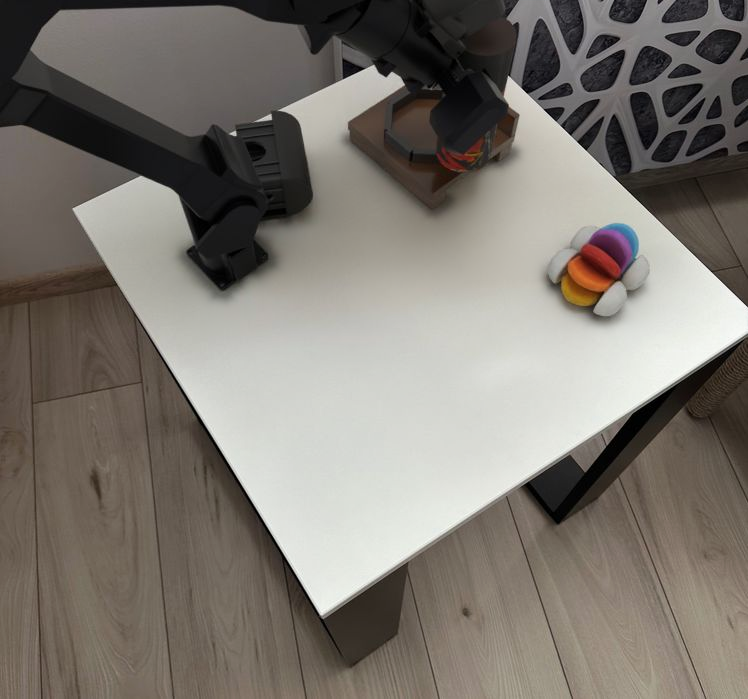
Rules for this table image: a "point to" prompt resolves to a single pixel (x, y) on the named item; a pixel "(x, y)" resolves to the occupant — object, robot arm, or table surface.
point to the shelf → (417, 142)
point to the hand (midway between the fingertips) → (484, 93)
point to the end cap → (279, 163)
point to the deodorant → (495, 55)
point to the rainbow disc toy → (600, 267)
